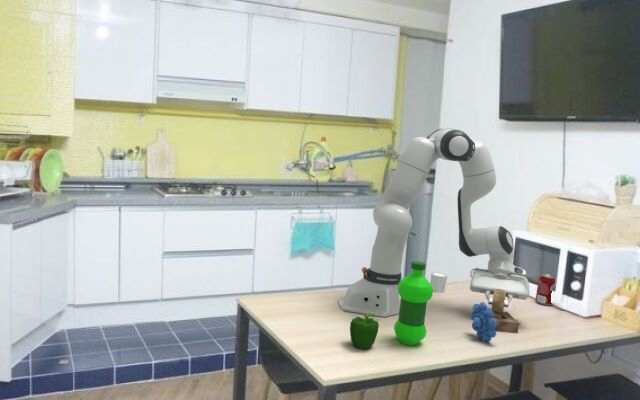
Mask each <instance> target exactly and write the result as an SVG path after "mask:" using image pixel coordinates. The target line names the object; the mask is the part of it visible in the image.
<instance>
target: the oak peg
mask: <svg viewBox="0 0 640 400" xmlns="http://www.w3.org/2000/svg"><path fill="white" fill-rule="evenodd" d="M505 296H506V291H505V290H502V289H494V294H493V296H492V298H493V304H492V305H491V309H492V310H493V318H499V319H501V317H502V314H503V311H504V308H505V307H504V303H505V301H506V297H505Z"/></svg>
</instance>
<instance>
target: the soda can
mask: <svg viewBox="0 0 640 400" xmlns="http://www.w3.org/2000/svg"><path fill="white" fill-rule="evenodd" d="M551 275H552V274H547V273H541V274H540V277H538V282H537V289H536V295H535V302H536V303H537V304H539V305H541V306H549V307H550V306H551V305H553V304H552V303H551V293H552V290H553V288H554V285H555V280H556V276H555V277H551Z"/></svg>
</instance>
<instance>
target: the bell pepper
mask: <svg viewBox="0 0 640 400" xmlns="http://www.w3.org/2000/svg"><path fill="white" fill-rule="evenodd" d="M373 317H374V314H373V313H368V314H365V315H364V318H362V317H361V316H359V315H358V316H356V317H355V318H352V319H351V321H350V322H349V323H350V325H349V335H350V341H351V343H352V345H354V346H355V347H357V348H358V349H362V350H367V349H369V348H371V347H372V346H373V345H374V344H375V341H376V338H377V336H378V332H379V327H380V325H379V321H376V320H375V319H374V318H373Z"/></svg>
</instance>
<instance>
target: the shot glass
mask: <svg viewBox="0 0 640 400" xmlns="http://www.w3.org/2000/svg"><path fill="white" fill-rule="evenodd" d="M447 280H448V274H444V273H441V272H431V273H430V284H431V285H432V288H433V291H434V292H433V293H437V292H443V293H444V292H445V288H446V284H447Z"/></svg>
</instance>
